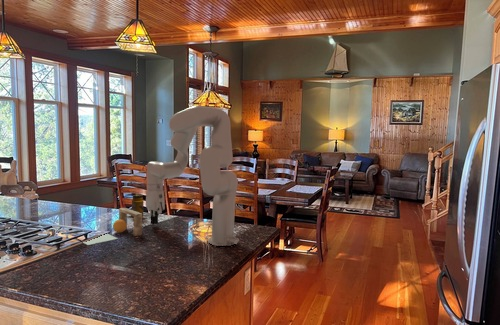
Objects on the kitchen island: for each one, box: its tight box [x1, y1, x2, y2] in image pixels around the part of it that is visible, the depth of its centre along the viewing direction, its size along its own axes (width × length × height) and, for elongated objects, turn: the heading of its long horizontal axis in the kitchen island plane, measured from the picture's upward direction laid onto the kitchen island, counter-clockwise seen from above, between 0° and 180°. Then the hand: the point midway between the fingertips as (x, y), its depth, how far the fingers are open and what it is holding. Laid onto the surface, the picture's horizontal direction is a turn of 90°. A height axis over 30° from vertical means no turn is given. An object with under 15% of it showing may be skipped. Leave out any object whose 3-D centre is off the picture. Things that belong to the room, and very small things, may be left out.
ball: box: [112, 218, 128, 233], centre depth 163 cm, size 6×6×6 cm
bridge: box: [118, 207, 143, 237], centre depth 165 cm, size 3×15×10 cm, turn 48°
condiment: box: [127, 194, 146, 220], centre depth 191 cm, size 7×8×12 cm
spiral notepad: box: [83, 233, 119, 246], centre depth 153 cm, size 13×13×1 cm
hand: (154, 223), depth 175 cm, fingers closed
